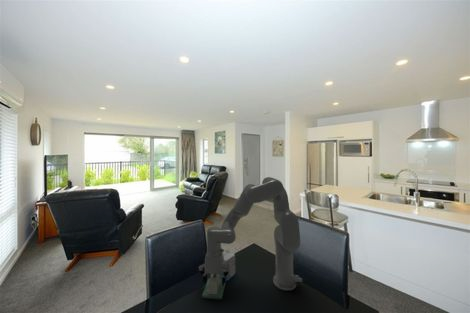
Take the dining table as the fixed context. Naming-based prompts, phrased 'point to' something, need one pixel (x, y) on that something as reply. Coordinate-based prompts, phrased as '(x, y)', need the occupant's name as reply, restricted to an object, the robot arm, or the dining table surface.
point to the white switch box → (214, 283)
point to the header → (214, 296)
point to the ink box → (229, 263)
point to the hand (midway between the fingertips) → (214, 283)
